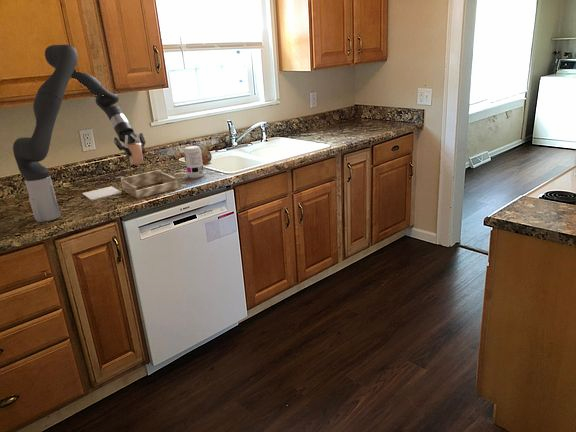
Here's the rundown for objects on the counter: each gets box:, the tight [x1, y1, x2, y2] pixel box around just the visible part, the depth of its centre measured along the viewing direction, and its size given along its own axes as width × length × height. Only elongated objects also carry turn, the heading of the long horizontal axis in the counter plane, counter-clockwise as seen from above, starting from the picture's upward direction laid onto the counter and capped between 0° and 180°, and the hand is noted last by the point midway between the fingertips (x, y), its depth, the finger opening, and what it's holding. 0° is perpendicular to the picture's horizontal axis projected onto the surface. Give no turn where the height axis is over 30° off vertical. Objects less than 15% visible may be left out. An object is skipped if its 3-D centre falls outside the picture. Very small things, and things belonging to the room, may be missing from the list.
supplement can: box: [183, 145, 205, 179], centre depth 229 cm, size 8×8×15 cm
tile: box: [82, 186, 123, 202], centre depth 213 cm, size 14×14×1 cm
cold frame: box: [120, 169, 179, 200], centre depth 214 cm, size 20×18×6 cm
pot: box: [127, 141, 145, 165], centre depth 209 cm, size 6×6×9 cm
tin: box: [184, 148, 213, 165], centre depth 254 cm, size 15×3×8 cm, turn 106°
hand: (137, 154), depth 207 cm, fingers closed on pot, 6 cm apart
